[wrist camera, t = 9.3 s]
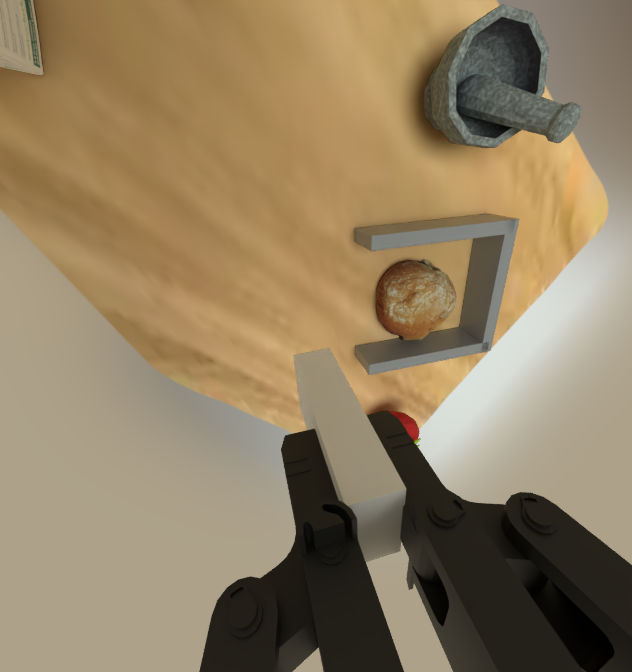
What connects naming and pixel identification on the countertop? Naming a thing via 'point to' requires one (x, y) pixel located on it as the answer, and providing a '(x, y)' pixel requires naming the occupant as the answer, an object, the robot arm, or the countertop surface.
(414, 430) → the strawberry
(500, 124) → the mortar and pestle
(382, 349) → the box
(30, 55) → the syrup box
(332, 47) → the countertop surface
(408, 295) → the bread roll
